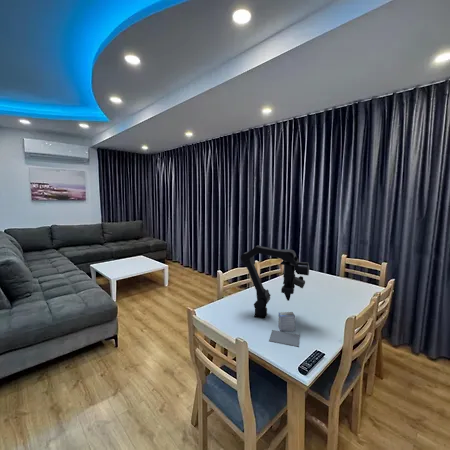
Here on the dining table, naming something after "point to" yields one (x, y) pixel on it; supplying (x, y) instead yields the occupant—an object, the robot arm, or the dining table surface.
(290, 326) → the medicine box
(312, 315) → the dining table surface
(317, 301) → the dining table surface
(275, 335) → the mat
